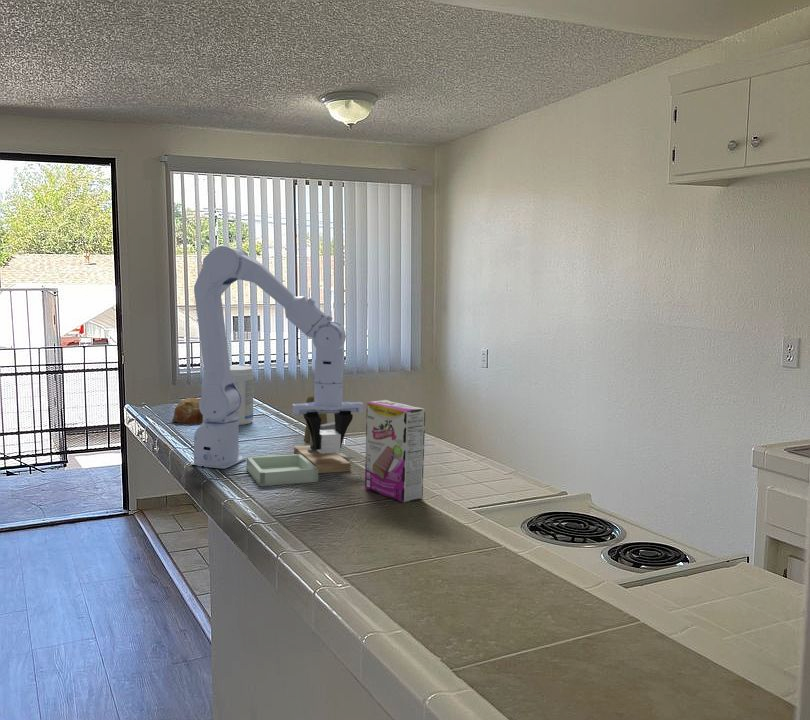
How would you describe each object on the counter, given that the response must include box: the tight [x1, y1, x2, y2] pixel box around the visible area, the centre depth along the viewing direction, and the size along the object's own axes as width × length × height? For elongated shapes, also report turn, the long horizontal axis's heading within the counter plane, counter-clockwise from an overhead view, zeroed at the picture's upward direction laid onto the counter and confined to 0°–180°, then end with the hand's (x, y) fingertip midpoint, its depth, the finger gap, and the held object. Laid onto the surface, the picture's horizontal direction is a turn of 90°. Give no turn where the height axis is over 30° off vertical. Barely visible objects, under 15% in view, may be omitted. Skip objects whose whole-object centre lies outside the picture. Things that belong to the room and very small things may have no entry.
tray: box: [246, 453, 319, 487], centre depth 147 cm, size 13×11×2 cm
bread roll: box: [172, 397, 203, 425], centre depth 201 cm, size 10×10×8 cm
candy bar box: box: [364, 399, 426, 504], centre depth 136 cm, size 11×5×16 cm, turn 41°
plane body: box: [293, 445, 352, 474], centre depth 159 cm, size 18×7×2 cm, turn 23°
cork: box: [303, 394, 328, 443], centre depth 180 cm, size 6×6×11 cm
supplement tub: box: [230, 365, 254, 426], centre depth 199 cm, size 10×10×15 cm
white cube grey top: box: [317, 429, 341, 454], centre depth 155 cm, size 5×4×4 cm
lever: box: [309, 419, 335, 450], centre depth 165 cm, size 12×3×5 cm, turn 149°
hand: (327, 448), depth 155 cm, fingers closed on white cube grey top, 4 cm apart
